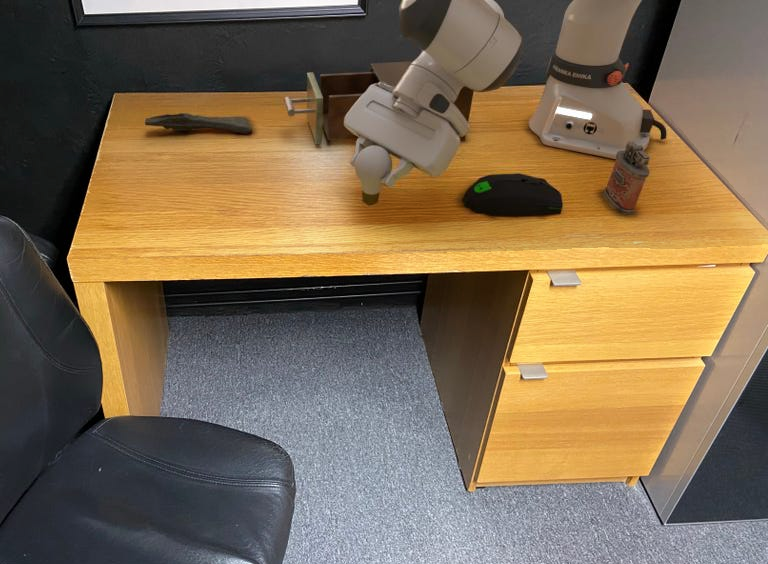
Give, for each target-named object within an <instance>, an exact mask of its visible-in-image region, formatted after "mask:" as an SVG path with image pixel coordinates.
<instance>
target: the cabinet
mask: <svg viewBox="0 0 768 564" xmlns="http://www.w3.org/2000/svg"><path fill="white" fill-rule="evenodd" d="M413 61H414V60H413ZM413 61H411V60H410V61H393V62H375V63H373V62H372V63H370V66H369V72H373V73H374V75H375V77H376V79H377V81H378V82H385V83H387V84H388V85H390V86H394V87H396V86H397V84H398V83H399V81H400V80H401V78H402V76H403V75H404V73H405V72H406V70H407V69H408V67H409V66H410V65H411V63H412V62H413ZM474 92H475V91H473V90H471V89H470V88H468V87H466V86H464V87H462V88H461V90H460V92H459V94H458V97H457V99H456V100H455V102H454V104H455V105H456V106H457V108H458V109H459V111H460V112H461V113H462V114H463V116H464V117H465V119H466V120H467V122H468V123H469V121H470V120H469V119H470V115H471V110H472V103H473V98H474ZM466 135H467V134H466ZM466 135H464V136H463V137H460V136H459V137H460V142H465V141H466V137H467V136H466Z"/></svg>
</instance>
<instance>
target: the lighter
mask: <svg viewBox="0 0 768 564" xmlns="http://www.w3.org/2000/svg"><path fill="white" fill-rule="evenodd" d="M650 160H651V158H650V156H649V154H647V153H646V152H645V150H644V151H643V146H642V145H637V144H636V143H634V142H627V145H626V149H625V151H618V152H617V154H616V159H615V161H614V163H613V167H612V170H611V173H610V175H609V179H608V181H607V185H606V186H605V187H604V189H603V192H602V194H603V197H604V199H605V201H606V202H607V203H608V205H609V206H610V207H611V208H612V209H613V210H615V211H616V212H617V213H618V214H620V215H622V216H632V215H634V214H635V211H636V205H637V203H638V201H639V197H640V195H641V193H642V190H643V187H644V185H645V182H646V179H648V177H649V176H650V173H651V170H650V168H649V167H648V165H649V163H650Z"/></svg>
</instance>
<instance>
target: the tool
mask: <svg viewBox="0 0 768 564" xmlns="http://www.w3.org/2000/svg"><path fill="white" fill-rule="evenodd" d="M144 121H145V122H144V125H145V126H151V127H152V126H153V127H163V128H164V129H166V130H170V129H172V130H173V131H180V132H191V131H193V130H201V129H211V130H217V131H225V132H233V133H238V134H249V133H252V132H253V127H252V125H251V123H250V122H249V121H248V120H247V118H246V117H245V116H204V115H199V114H196V115H195V114H190V113H187V112H186V113H184V112H181V113H177V114H176V113H175V114H168V113H167V114H162V115H156V116H151V117H146V118H145V120H144Z"/></svg>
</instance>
